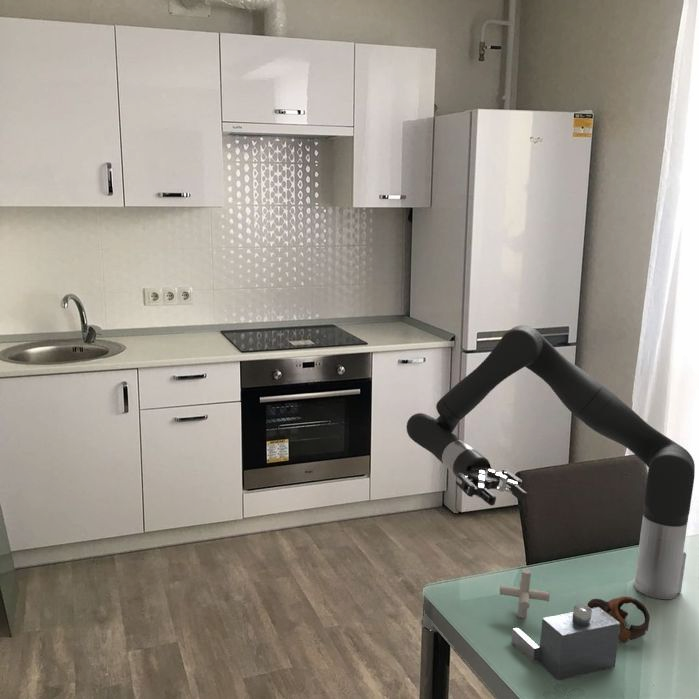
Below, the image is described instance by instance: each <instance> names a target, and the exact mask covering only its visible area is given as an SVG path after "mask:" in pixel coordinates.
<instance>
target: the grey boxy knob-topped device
mask: <svg viewBox="0 0 699 699" xmlns="http://www.w3.org/2000/svg"><path fill="white" fill-rule="evenodd" d="M541 621H542V622H541V629H540V630H541V631H540V637H539V638H540V640H539V645H538V644H537V643H535V641H534V640H532V638H530V637H529V636H528V635H527V634H526V633H525V632H524V631H522V629H520V628H519V627H515V628H512V634H511V635H512V637H511V644H513V646H515V647H516V648H517V649H518V650H519V651H520V653H522V654H523V655H524V656H525V657H526V658H527V659H528V660H529V661H530V662H531V663H538V664H540V665H541V666H542V667H543V668H544V669H545V670H546V671H547V672H548V673H549V674H550V675H551V676H552V677H554V678H555V680H557V681H561V680H565V679H568V678H573V677H574V678H575V677H577V676H583V675H586V674H591V673H595V672H599V671H604V670H608V669H611V668H615V667H616V661H617V652H618V647H619V646H618V645H619V640H618V639H619V635H620V632H621V630H620V623H619V622H618V621H617V620H615V619H614V618H613V617H611V616H610V615H609V614H607V613H606V612H605V611H603V610H602V609H601V608H600V607H596V608H590V607H588V606H587V605H586V604H579V603H577V604H575V605H574V606H573V611H572V612H566V613H561V614H557V615H551V616H546V617H542V618H541ZM582 674H583V675H582Z"/></svg>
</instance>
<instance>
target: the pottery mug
mask: <svg viewBox="0 0 699 699" xmlns="http://www.w3.org/2000/svg"><path fill="white" fill-rule="evenodd" d="M626 604H633V605H634V606H635V607H636V609H637V610H639V611H640V612H641V613H642V614H643V616H644V622H643V623H642V624H639V625H634V624H630V626H629V627H627V626H626V625H625V624H626V618H627V617H628V615H629V612H627V611H625V610H624V609H622V608H621V607H622V606H623V605H626ZM586 606H588V607H590V608H596V607H600V608H601V609H602V610H603V611H605V612H606V613H607V614H609V615H610V616H611V617H613V618H614V619H615V620H617V621H618V622H619V623H620V632H619V639H618V642H621V643H626V642H628V641H633V640H636V639H638V638H641V637H643V636H644V635H646V632H648V630H649V626H650V619H651V618H650V616H651V615H650V613H649V611H648V609H647V607H646V606H645V604H644V603H642V602H641V601H640V600H639V599H636V598H633V597H631V596H620V597H616V598H612V599H611V600H608V601H605V600H603V599H601V598H592V599H590V600H589V601H588V603H587V605H586Z"/></svg>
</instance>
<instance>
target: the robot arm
mask: <svg viewBox="0 0 699 699" xmlns="http://www.w3.org/2000/svg"><path fill="white" fill-rule="evenodd" d="M523 368H526V369H528V370H529V371H531V372H532V373H533V374H535V375H536V376H538V377H539V378H540V379H541V380H543V381H544V382H545V383H546V384H547V385H548V386H549V387H550V389H551V390H552V391H553V392H554V394H555V395H556V396H557V397H558V399H559V400H560V402H561V403H562V404H563V405H564V406H565V407H566V408H567V409H568V410H569V411H570V412H571V413H572V414H573V415H574V416H575V417H577V419H579V420H580V421H581V422H583V424H585V425H586V426H587V427H589V428H590V429H591V430H593V431H594V432H596V433H598V434H600V435H601V436H604V437H606V438H607V439H610V440H611V441H613V442H616V443H617V444H620V445H621V446H623V447H625V448H627V449H628V450H629V451H630V452H632V453H633V454H634V455H635V457H637V458H638V459H640V460H641V461H642V462H643V463H644V464H645V466H647V467H648V470H647V478H646V486H645V495H644V500H643V512H642V520H641V528H640V534H639V535H640V536H639V545H638V551H637V560H636V568H635V576H634V583H633V584H634V585H633V586H634V588H635V590H637V591H638V592H639V593H641V594H643V595H645V596H647V597H650V598H654V599H659V600H671V599H674V598H676V597H677V596H678V594H680V593H682V587H683V581H684V580H683V579H684V575H685V574H684V573H685V567H686V561H687V553H686V552H685V550H684V549H685V542H686V536H687V535H686V534H687V528H688V522H689V521H688V520H689V515H690V511H691V503H692V497H693V491H694V482H695V476H696V475H695V474H696V472H695V468H696V466H695V460H694V459H693V456H692V455H691V454H690V452H689V451H688V450H687V449H686V448H684V447H683V446H682V445H680V444H679V443H677V442H675V441H674V440H672V439H671V438H669V437H668V436H666V435H665V434H663V433H661V432H660V431H659V430H657V429H655V428H654V427H653V426H651V425H650V424H649V423H647V421H645V420H644V419H643V418H642V417H640V415H639V414H637V413H636V412H635V411H634V410H633V409H632V408H631V407H629V405H627V404H626V403H625V402H624V401H623V400H622V399H621V398H619V397H618V396H617V395H616V394H614V393H613V392H612V391H611V390H610V389H608V388H607V387H606V386H605V385H603V384H602V383H601V382H599V381H598V380H596V379H595V378H594V377H593V376H592V375H590V374H588V373H587V372H585V370H583V369H582V368H580V367H579V366H577V365H576V364H574V363H573V362H572V361H570V360H568V359H567V358H566V357H565V356H564V355H562V354H561V353H560V352H559V351H558V350H557V348H556V347H555V346H553V344H551V343H550V342H549V341H548V340H547V339H546V338H545V337H544V336H543V335H542V334H541V333H540V332H539V331H538V330H537V329H535V327H532V326H528V325H524V324H523V325H516V326H514V327H512V328H510V329H508V331H506V332H505V333H504V334H503V335H502V337H501V338H500V340H499V341H498V342H497V344H496V345H495V347H494V348H493V349H492V350H491V352H490V353H489V355H488V356H487V357H486V358H485V359H484V360H483V361H482V362H481V363H480V364H479V365H478V366H477V367H476V368H475V369H474V370H472V371H471V372H470V373H468V375H466V376H464V377H463V379H462V380H460V381H459V382H457V383H456V384H455V385H454V386H453V387H452V388H451V389H449V390H448V392H446V393H445V394H444V395H443V396H442V397H440V399H439V400H438V401H437V403H436V404H435V405H436V406H435V408H436V412H437V414H439V416H438V417H436V418H434V417H432V416H430V415H428V414H426V413H422V412H418V413H414V414H413V415H411V416H410V417H409V418H408V420H407V421H406V422H407V423H406V433H407V435H408V437H409V439H411V440H412V441H413V442H415V443H416V444H417V445H419V446H420V447H421V448H423V449H425V450H426V451H428V452H429V453H431V454H432V455H434V457H435V458H436V459H438V461H439V462H441V463H442V464H443V465H444V466H445V467H446V469H447V470H449V472H450V473H452V474H453V476H455V477H456V482H455V484H456V485H457V487H458V488H460V490H462V491H463V492H464V493H465V495H467V496H468V497H471V498H472V497H473V496H476V498H480V499H482V500H483V501H484V502H485V503H486V504H488V505H489V506H491V507H493V506H495V505H496V504H495V503H496V500H497V496H496V495H494V494H493V492H491V491H490V490H497V491H499V492H504V491H505V492H507V493H510V494H511V495H513V496H514V497H515V498H516V499H517V500H519V501H520V502H521V503H524V502H526V500H527V496H528V493H527V491H525V489H523V488H522V487H521V485H522V483H523V480H522V479H521V478H519V477H518V476H517V475H515V474H514V473H512V472H511V471H510V470H508V469H506V468H502V470H501V471H499V472H498V471H497V470H495V469H493V468H492V467H491V463H490V461H489V460H488V459H487V458H486V456H484V455H482V454H481V453H480V452H479V451H478V450H476V449H475V448H474V447H472V446H471V445H470V444H468V443H466V442H465V441H463V440H462V439H461V438H460V437H458V436H457V435H456V434H454V433H453V431H454V430H455V429H456V427H457V426H458V424H459V422H460V421H461V420H463V419H464V418H465V416H467V415H469V413H470V412H472V411H473V410H474V409H475V408H476V407H477V406H478V405H479V404H481V402H483V400H484V399H485V398H486V397H487V396H488V395H489V393H491V392H492V391H493V390H494V389H495V388H496V387H497V386H498V385H499V384H501V383H502V382H503V381H505V380H506V379H508V377H510V376H512V375H513V374H515V373H517V372H518V371H520V370H521V369H523ZM500 482H501V483H502V484H501V486H500ZM508 486H509V487H508Z"/></svg>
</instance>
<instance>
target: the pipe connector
mask: <svg viewBox="0 0 699 699" xmlns="http://www.w3.org/2000/svg"><path fill="white" fill-rule="evenodd" d="M531 575H532V571H531V570H530V569H527V568H526V569H525V568H524V569H522V570H521V577H520V579H519V587H514V586H508V585H507V586H506V585H501V584H500V586H499V595H501V596H508V597H509V596H510V597H514V598H515V597H516V598H519V599H518V610H517V616H518V617H519V618H522V619H525V618H527V617H528V609H529V608H530V599H531V600H535V601H536V600H537V601H542V602H543V601H544V602H545V601H546V602H549V601H550V597H551V596H550V593H551V592H549V591H543V590H535V589H530V588H531V587H530V586H531V585H530V584H531Z"/></svg>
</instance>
